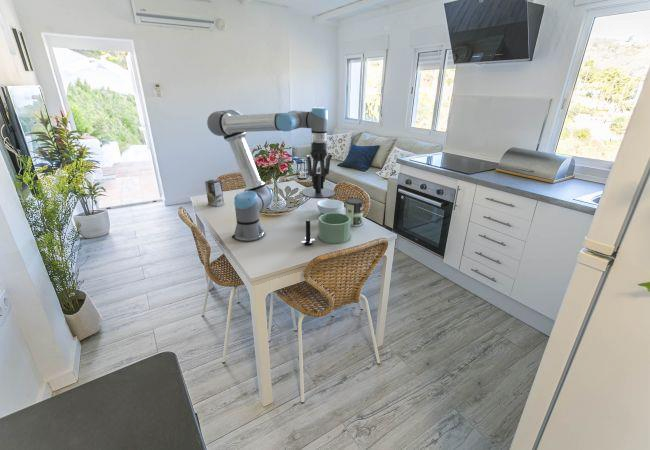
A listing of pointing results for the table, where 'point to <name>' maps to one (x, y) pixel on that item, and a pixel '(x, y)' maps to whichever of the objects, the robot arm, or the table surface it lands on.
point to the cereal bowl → (330, 206)
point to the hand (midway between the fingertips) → (318, 188)
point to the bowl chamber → (334, 227)
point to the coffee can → (354, 210)
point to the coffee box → (214, 192)
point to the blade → (307, 234)
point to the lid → (318, 190)
